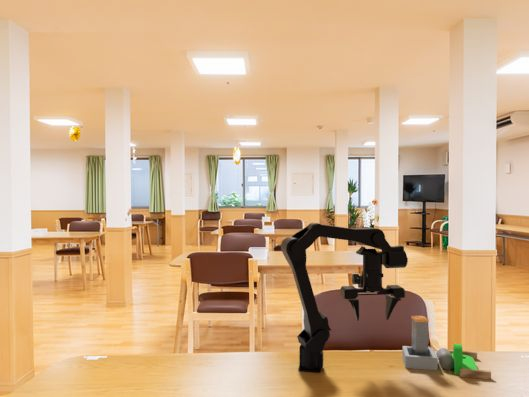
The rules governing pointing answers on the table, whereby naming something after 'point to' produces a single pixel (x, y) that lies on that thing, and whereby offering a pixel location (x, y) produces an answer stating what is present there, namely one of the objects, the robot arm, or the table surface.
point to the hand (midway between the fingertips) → (372, 319)
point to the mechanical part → (462, 360)
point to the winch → (428, 359)
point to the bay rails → (470, 372)
